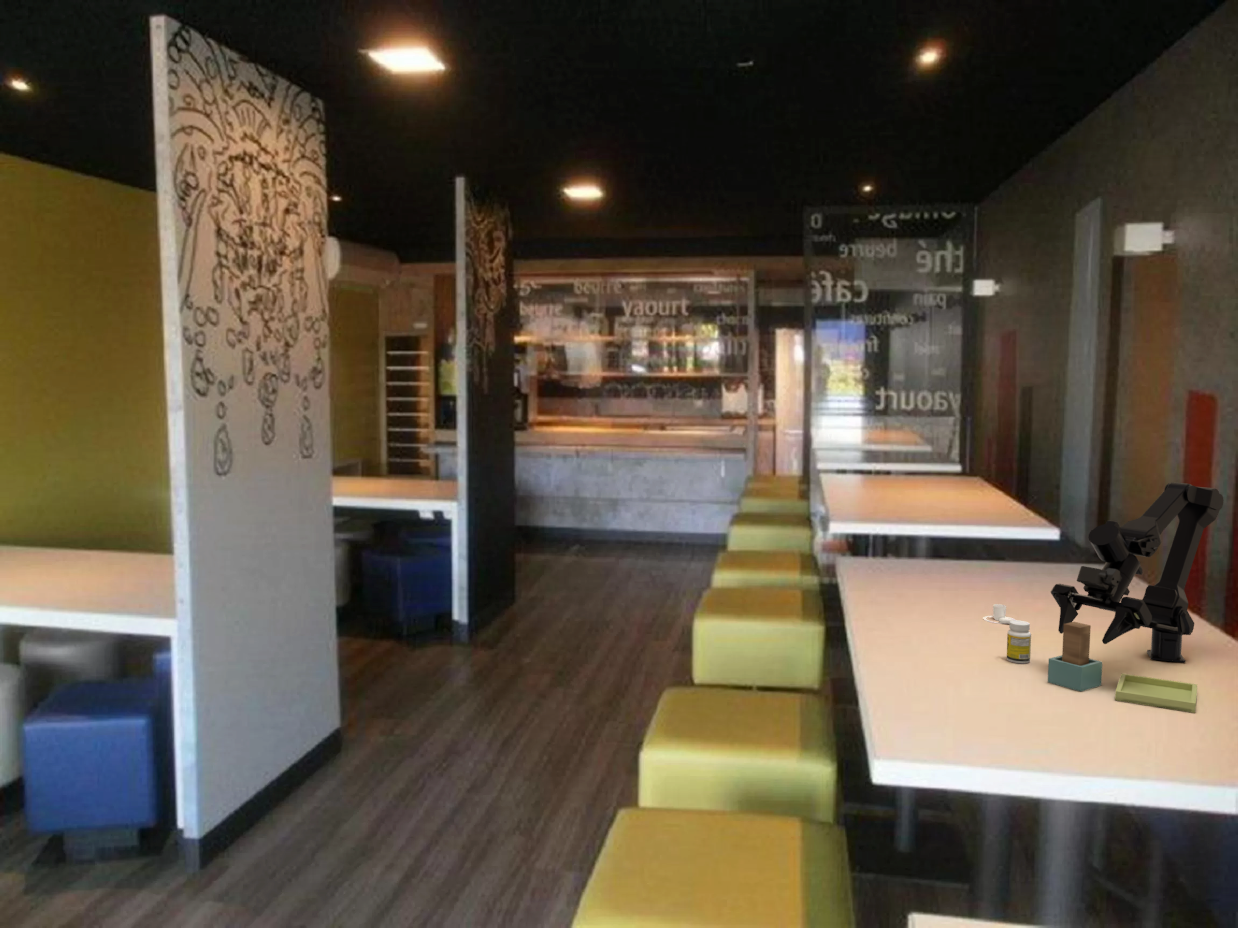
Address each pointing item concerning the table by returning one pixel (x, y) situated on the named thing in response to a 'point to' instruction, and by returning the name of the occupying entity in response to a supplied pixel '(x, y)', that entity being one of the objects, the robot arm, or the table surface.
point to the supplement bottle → (1019, 642)
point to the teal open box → (1074, 674)
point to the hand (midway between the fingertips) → (1081, 637)
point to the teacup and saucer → (999, 614)
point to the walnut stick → (1076, 643)
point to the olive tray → (1157, 692)
